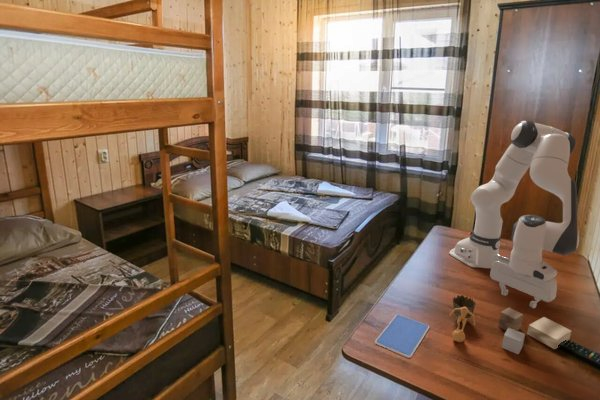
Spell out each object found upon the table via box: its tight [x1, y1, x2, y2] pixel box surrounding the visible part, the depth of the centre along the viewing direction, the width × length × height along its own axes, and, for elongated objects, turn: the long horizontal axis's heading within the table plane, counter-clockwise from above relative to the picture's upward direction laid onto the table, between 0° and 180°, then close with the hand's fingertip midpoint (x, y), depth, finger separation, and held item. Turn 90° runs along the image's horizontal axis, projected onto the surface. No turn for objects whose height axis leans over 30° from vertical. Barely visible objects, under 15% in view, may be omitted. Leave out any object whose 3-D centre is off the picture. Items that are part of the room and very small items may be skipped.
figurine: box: [448, 307, 476, 343], centre depth 127 cm, size 8×6×12 cm
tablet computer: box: [374, 314, 430, 359], centre depth 131 cm, size 19×13×1 cm, turn 144°
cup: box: [452, 295, 477, 323], centre depth 138 cm, size 8×7×8 cm
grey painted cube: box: [501, 328, 526, 355], centre depth 124 cm, size 5×5×5 cm
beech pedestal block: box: [526, 316, 572, 350], centre depth 129 cm, size 9×9×4 cm
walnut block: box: [497, 307, 524, 332], centre depth 134 cm, size 5×5×6 cm
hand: (518, 300), depth 130 cm, fingers open, 8 cm apart
